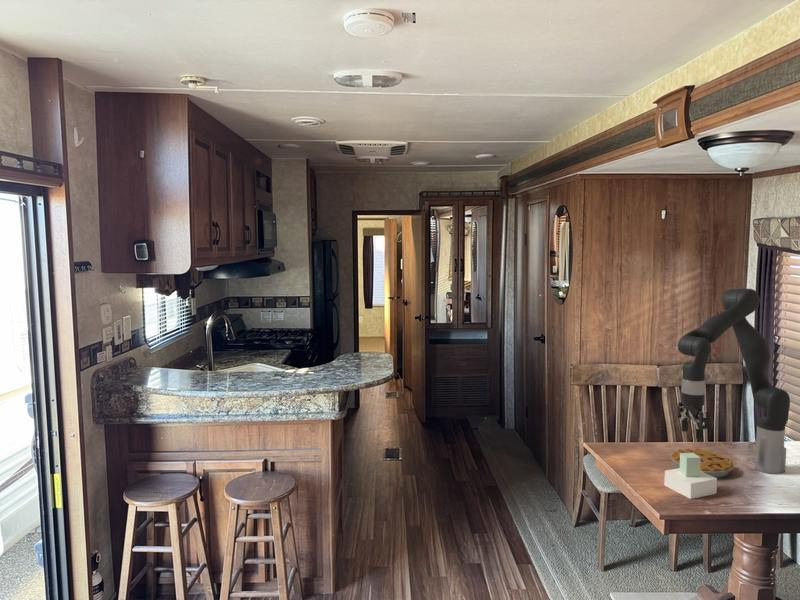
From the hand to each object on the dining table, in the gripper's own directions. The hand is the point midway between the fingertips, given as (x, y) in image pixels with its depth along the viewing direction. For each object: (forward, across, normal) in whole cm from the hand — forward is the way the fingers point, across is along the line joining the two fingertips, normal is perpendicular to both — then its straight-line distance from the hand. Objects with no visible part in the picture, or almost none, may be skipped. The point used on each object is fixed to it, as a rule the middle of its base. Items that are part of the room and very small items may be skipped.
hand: (691, 435), depth 205 cm
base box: (+21, 0, 0) cm, 21 cm away
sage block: (+15, 0, 0) cm, 15 cm away
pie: (+21, +17, -16) cm, 31 cm away
